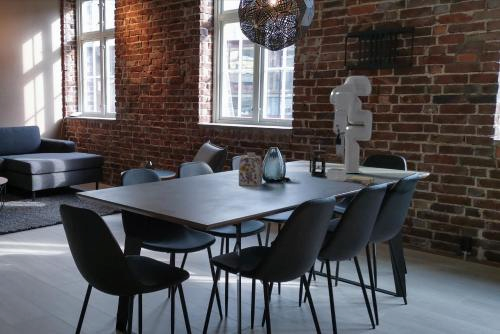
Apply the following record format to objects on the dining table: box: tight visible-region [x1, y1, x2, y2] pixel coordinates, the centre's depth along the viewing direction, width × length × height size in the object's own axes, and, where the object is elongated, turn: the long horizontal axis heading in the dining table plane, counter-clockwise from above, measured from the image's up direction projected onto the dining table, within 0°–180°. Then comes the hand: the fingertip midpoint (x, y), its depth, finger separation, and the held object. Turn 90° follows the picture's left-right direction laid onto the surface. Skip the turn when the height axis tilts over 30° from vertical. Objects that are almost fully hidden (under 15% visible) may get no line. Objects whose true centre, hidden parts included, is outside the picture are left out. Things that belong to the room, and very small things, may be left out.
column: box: [335, 132, 345, 158], centre depth 302 cm, size 5×5×15 cm
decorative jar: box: [238, 152, 264, 187], centre depth 286 cm, size 12×12×18 cm
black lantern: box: [309, 140, 327, 178], centre depth 317 cm, size 12×9×23 cm
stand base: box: [323, 167, 347, 182], centre depth 305 cm, size 12×12×7 cm
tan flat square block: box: [346, 175, 375, 185], centre depth 298 cm, size 12×12×3 cm
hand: (340, 144), depth 302 cm, fingers closed on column, 4 cm apart
